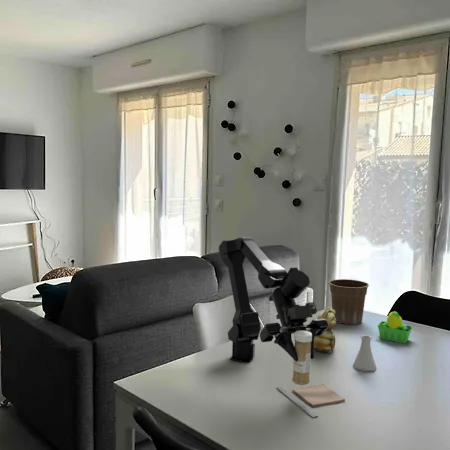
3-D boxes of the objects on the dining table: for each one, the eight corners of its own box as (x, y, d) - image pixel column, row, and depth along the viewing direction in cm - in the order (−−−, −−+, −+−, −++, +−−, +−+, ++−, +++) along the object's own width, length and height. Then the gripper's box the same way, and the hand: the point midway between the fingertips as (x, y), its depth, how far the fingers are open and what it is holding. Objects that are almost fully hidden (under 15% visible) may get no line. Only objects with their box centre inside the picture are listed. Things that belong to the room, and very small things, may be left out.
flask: (377, 373, 146) (379, 341, 145) (353, 370, 148) (355, 339, 147) (375, 364, 153) (377, 334, 153) (351, 362, 155) (353, 332, 154)
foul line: (276, 388, 134) (276, 387, 134) (281, 387, 134) (281, 386, 134) (312, 418, 117) (312, 416, 117) (317, 417, 118) (317, 415, 118)
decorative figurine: (333, 355, 160) (335, 311, 159) (308, 352, 163) (310, 309, 161) (336, 346, 169) (338, 305, 168) (313, 343, 172) (314, 302, 171)
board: (292, 391, 132) (292, 389, 132) (323, 386, 136) (323, 384, 136) (312, 407, 123) (312, 405, 123) (344, 401, 127) (345, 399, 127)
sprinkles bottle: (288, 382, 127) (291, 332, 125) (298, 377, 130) (300, 328, 129) (303, 387, 124) (306, 336, 122) (313, 382, 127) (315, 332, 126)
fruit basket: (412, 339, 180) (414, 309, 179) (407, 345, 172) (409, 315, 171) (381, 333, 186) (383, 305, 185) (375, 339, 178) (376, 309, 177)
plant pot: (345, 328, 192) (346, 288, 190) (319, 317, 206) (320, 280, 204) (375, 323, 199) (377, 285, 198) (348, 313, 213) (350, 278, 212)
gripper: (266, 293, 125) (284, 349, 116) (327, 289, 132) (349, 342, 122) (252, 315, 133) (268, 368, 124) (310, 310, 140) (330, 360, 131)
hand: (304, 359), depth 125 cm, fingers closed on sprinkles bottle, 4 cm apart
